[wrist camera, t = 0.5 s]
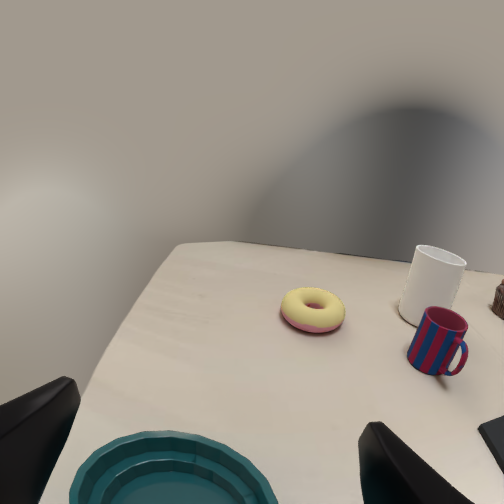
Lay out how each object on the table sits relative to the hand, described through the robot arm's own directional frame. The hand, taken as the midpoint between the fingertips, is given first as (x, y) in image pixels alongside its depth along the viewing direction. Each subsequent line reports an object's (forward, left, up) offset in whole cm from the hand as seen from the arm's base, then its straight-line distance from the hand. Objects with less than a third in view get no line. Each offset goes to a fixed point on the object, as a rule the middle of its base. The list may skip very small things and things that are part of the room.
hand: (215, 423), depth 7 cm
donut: (+32, -12, -15) cm, 37 cm away
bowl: (+1, +2, -15) cm, 15 cm away
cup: (+20, -27, -15) cm, 36 cm away
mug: (+35, -33, -15) cm, 50 cm away
